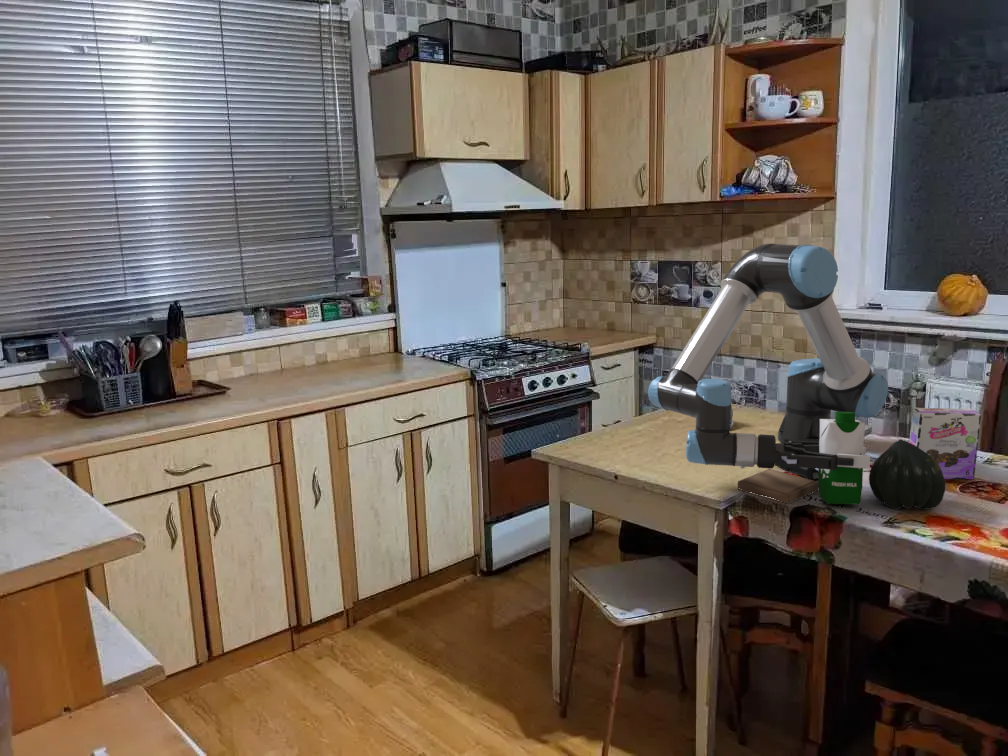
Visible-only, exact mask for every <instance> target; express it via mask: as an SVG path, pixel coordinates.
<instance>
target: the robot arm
mask: <svg viewBox="0 0 1008 756" xmlns="http://www.w3.org/2000/svg"><path fill="white" fill-rule="evenodd" d="M838 268H839V267H838V263H837V260H836V258H835V256H834V255H833V253H831V251H829V250H828V249H827V248H825V247H823V246H818V245H812V244H784V243H783V244H782V243H778V244H777V243H764V244H760V245H757V246H756V247H754V248H751V249H750V250H749V251H747V252H746V253H744V254H743V255H742V256H740V258H738V259H737V261H736V262H734V263H733V265H732V266H731V267H730V268H729V269H728V271H727V272H726V274H725V275H724V276H723V277H722V280H721V281H720V284H719V285H720V290H719V293H718V294H717V296H716V297H715V299H714V300H713V302H712V303H711V305H710V306H709V308H708V310H707V311H706V313H705V315H704V316H703V317H702V320H700V322H699V324H698V326H697V327H696V329H695V330H694V332H693V333H692V335H691V337H689V340H688V341H687V343H686V344H685V346H684V347H683V349H682V351H681V353H679V356H678V357H677V358H676V360H675V362H674V364H673V365H672V367H671V368H670V370H669V371H668V373H667V375H666V376H665V375H663V376H657V377H656V378H655V379H653V380H651V382H650V383H649V386H648V390H647V395H648V399H649V402H650V403H651V404H652V405H653V406H655V407H657V408H660V409H663V410H665V411H670V412H673V413H678V414H682V415H685V416H689V417H692V418H695V429H694V430H688V431H687V433H686V445H685V449H686V450H685V457H686V460H687V461H688V463H689V462H690V463H692V464H701V465H706V466H708V465H709V466H710V465H711V466H712V465H713V466H728V467H729V466H730V467H740V469H745V467H746V468H747V467H748V468H754V467H755V466H756V467H758V468H759V469H772V470H773V469H774V468H775V466H776V464H775V461H780V462H784V463H786V466H787V467H806V468H815V469H817V470H818V469H831V470H834V471H836V470H837V466H838V467H853V468H863V469H869V470H871V467H870V466H871V455H866V454H867V447H866V446H864V454H863V455H854V454H837V455H832V454H825V453H819V439H820V419H832V415H831V414H832V411H834V412H854V413H855V418H856V417H857V418H860V417H861V418H873V417H875V416H876V415H877V414H879V413H880V412H881V410H882V408H883V407H884V405H885V403H886V400H887V397H888V393H889V381H888V378H887V377H886V376H885V375H883V374H881V373H879V372H878V373H874V372H873V371H872V367H871V366H870V363H869V361H867V360H866V359H865V358H863V357H861V356H859V354H858V352H857V350H856V348H855V346H854V344H853V341H852V339H851V337H850V335H849V332H848V330H847V328H846V326H845V323H844V321H843V319H842V317H841V314H840V313H839V309H838V308H837V306H836V305H837V304H836V303H835V300H834V299H833V296H832V295H834V291H835V287H837V283H838V277H839V276H838V274H837V272H839V269H838ZM764 293H774V294H780V295H781V297H782V300H783V301H784V303H785V305H786V307H787V308H789V309H790V310H792V311H796V312H797V314H798V317H799V319H800V321H801V322H802V325H803V327H804V329H805V332H806V333H807V335H808V337H809V339H810V341H811V343H812V344H811V345H812V346H813V347H814V349H815V351H816V354H817V356H818V357H815V358H803V359H797V360H793V361H791V362H790V364H789V366H788V373H787V376H786V377H787V384H786V385H787V386H786V403H785V404H786V405H785V409H786V410H785V414H784V416H783V418H782V421H781V424H780V426H779V428H778V432H777V439H776V436H775V435H774V434H761V433H760V434H759V435H758V434H757V435H758V436H756V434H755V433H746V432H745V433H744V432H731V429H730V426H731V424H730V416H731V407H732V400H733V399H732V386H731V383H730V382H729V381H727V380H725V379H722V378H704V377H705V375H706V373H707V372H708V370H709V369H710V367H711V365H713V362H714V361H715V359H716V357H717V356H718V355H719V352H720V351H721V349H722V348H723V346H724V344H725V343H726V341H727V340H728V338H729V337H730V335H731V333H732V332H733V330H734V328H735V327H736V325H737V324H738V322H739V320H740V319H741V318H742V316H743V315H744V313H745V311H746V309H747V308H748V306H749V305H751V304H755V302H756V301H757V300H758V298H759V297H760V295H763V294H764ZM777 440H778V441H779V442H778V443H776V441H777Z"/></svg>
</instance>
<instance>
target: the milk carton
mask: <svg viewBox="0 0 1008 756" xmlns="http://www.w3.org/2000/svg"><path fill="white" fill-rule="evenodd" d="M834 415H835V416H834V417H835V419H834V418H833V419H832V418H831V419H820V439H819V453H825V454H832V455H837V454H854V455H863V454H864V447H865V432H866V431H865V430H866V422H863V421H860V420H858V419H856V416H855V413H854V412H837V411H835V414H834ZM817 470H818V481H817V482H818V498H819V499H821V500H822V501H824V502H825V503H826V504H834V505H835V504H837V505H861V503H862V502H861V501H862V494H863V480H864V479H863V476H864V474H863V473H864V468H853V467H838V466H837V470H836V471H834V470H831V469H818V468H817Z"/></svg>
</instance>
